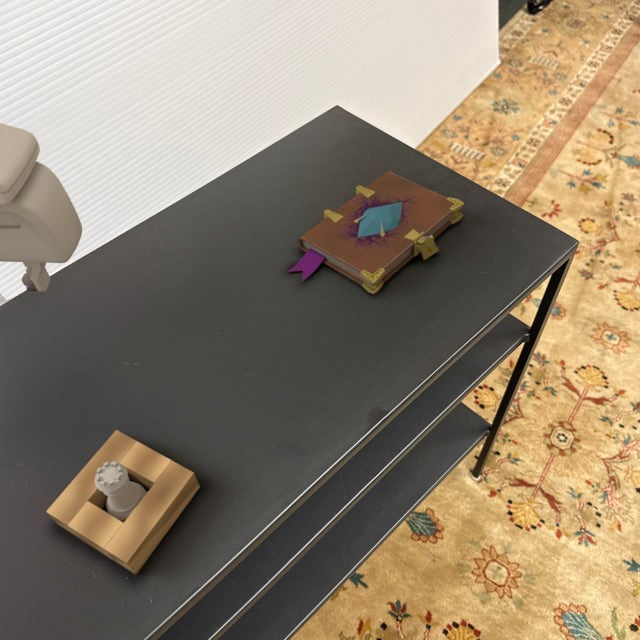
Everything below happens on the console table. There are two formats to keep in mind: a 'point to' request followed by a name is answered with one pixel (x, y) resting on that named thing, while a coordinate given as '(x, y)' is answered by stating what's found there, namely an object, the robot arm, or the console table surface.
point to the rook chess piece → (118, 490)
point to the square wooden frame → (146, 519)
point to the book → (378, 231)
